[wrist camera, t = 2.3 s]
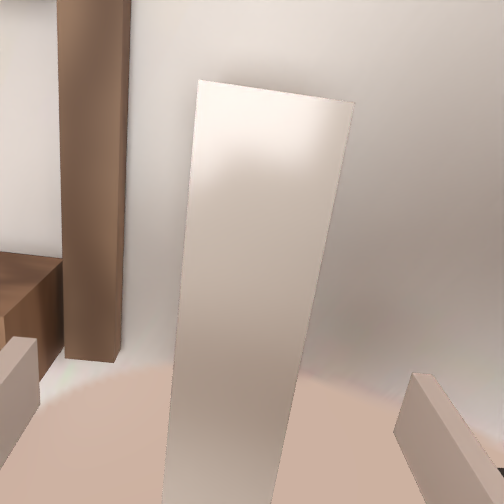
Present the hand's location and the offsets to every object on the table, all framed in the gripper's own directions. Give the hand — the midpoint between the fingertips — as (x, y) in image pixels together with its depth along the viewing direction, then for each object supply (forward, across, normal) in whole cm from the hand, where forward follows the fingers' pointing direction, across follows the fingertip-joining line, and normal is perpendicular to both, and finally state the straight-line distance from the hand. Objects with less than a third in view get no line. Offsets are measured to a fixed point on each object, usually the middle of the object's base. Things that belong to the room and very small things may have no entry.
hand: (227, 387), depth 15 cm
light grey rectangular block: (+12, -1, 0) cm, 12 cm away
